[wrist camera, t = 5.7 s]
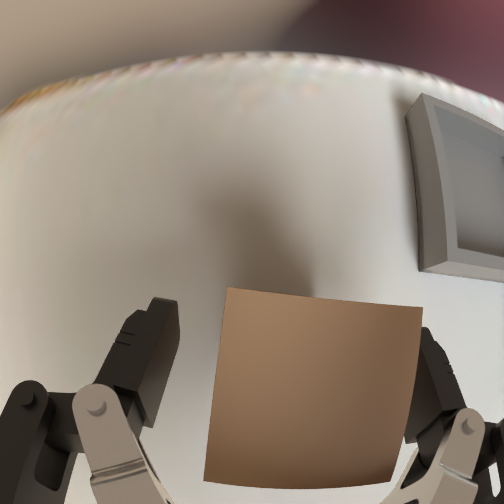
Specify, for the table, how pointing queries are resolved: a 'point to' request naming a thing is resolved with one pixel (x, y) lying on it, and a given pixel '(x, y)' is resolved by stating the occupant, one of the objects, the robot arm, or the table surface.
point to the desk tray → (457, 190)
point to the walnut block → (310, 391)
